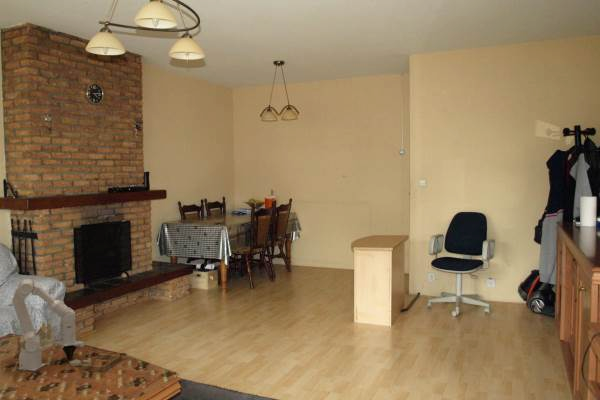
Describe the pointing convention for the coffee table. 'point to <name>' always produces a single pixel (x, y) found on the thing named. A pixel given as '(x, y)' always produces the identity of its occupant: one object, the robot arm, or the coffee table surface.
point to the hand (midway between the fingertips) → (70, 359)
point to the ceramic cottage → (42, 337)
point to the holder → (104, 368)
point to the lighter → (79, 362)
